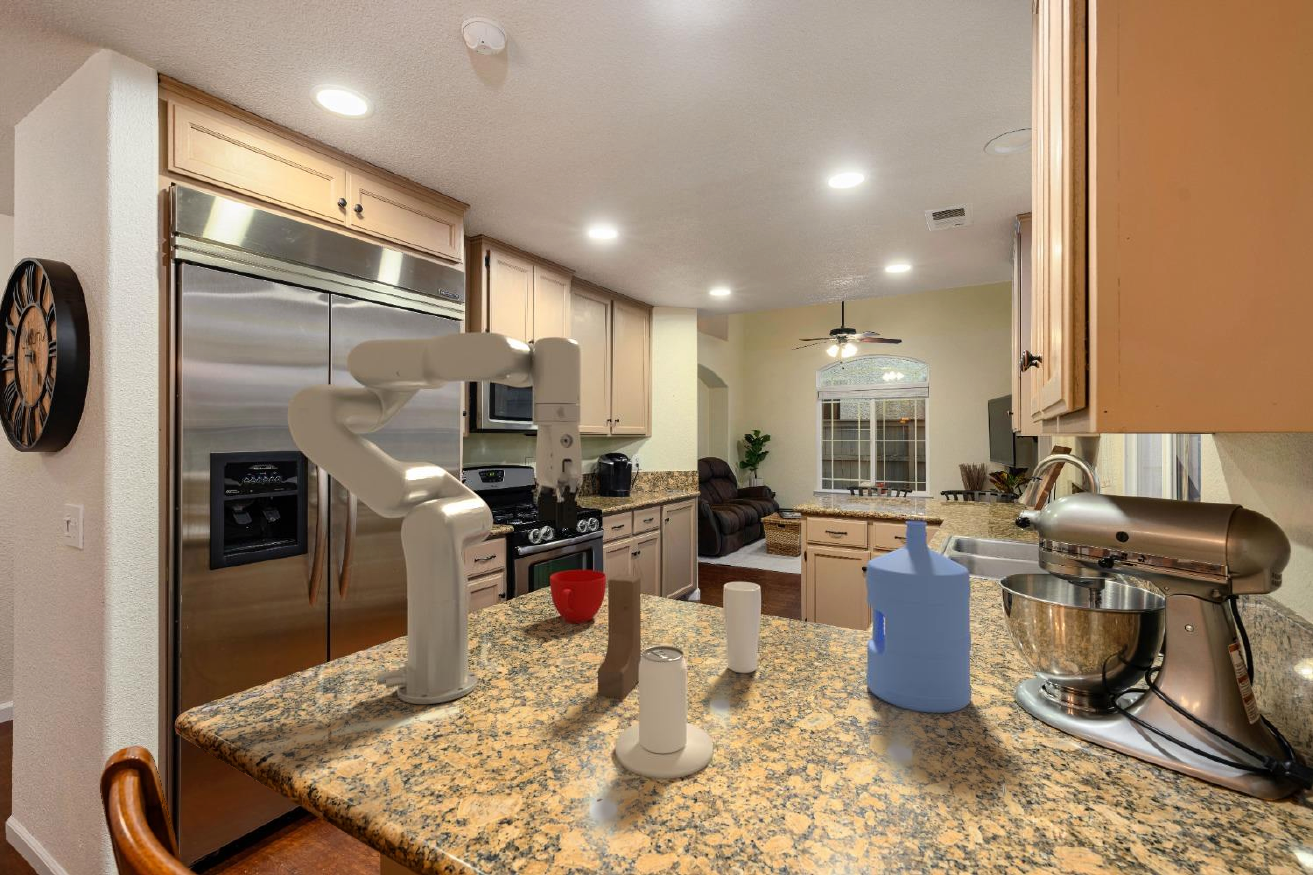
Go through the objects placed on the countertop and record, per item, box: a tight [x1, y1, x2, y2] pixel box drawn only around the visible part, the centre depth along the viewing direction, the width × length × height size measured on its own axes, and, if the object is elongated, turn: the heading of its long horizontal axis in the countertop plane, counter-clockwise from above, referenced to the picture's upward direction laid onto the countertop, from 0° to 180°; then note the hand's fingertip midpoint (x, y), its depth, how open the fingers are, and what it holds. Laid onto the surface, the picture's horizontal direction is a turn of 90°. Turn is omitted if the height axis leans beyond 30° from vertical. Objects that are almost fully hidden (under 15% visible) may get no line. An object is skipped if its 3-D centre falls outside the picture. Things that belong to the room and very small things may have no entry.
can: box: [638, 645, 688, 755], centre depth 78 cm, size 6×6×12 cm
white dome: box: [615, 722, 714, 779], centre depth 78 cm, size 13×13×1 cm
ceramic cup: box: [549, 569, 607, 624], centre depth 135 cm, size 13×17×10 cm
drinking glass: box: [722, 581, 762, 674], centre depth 106 cm, size 7×7×15 cm
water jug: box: [865, 520, 972, 714], centre depth 96 cm, size 16×16×28 cm
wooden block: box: [597, 573, 642, 700], centre depth 98 cm, size 9×4×18 cm, turn 162°
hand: (556, 523), depth 93 cm, fingers open, 9 cm apart
